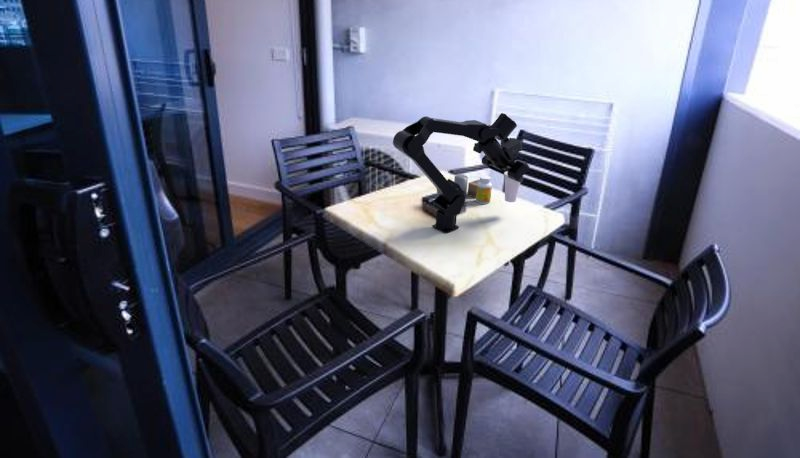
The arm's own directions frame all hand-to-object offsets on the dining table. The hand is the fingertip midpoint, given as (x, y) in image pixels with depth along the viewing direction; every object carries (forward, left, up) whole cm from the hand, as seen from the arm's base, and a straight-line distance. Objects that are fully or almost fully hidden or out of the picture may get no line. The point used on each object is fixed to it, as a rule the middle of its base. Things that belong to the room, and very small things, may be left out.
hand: (515, 178), depth 162 cm
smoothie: (-1, 0, -8) cm, 8 cm away
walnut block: (+6, +20, -13) cm, 25 cm away
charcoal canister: (-1, +23, -13) cm, 27 cm away
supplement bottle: (+2, +14, -14) cm, 20 cm away
